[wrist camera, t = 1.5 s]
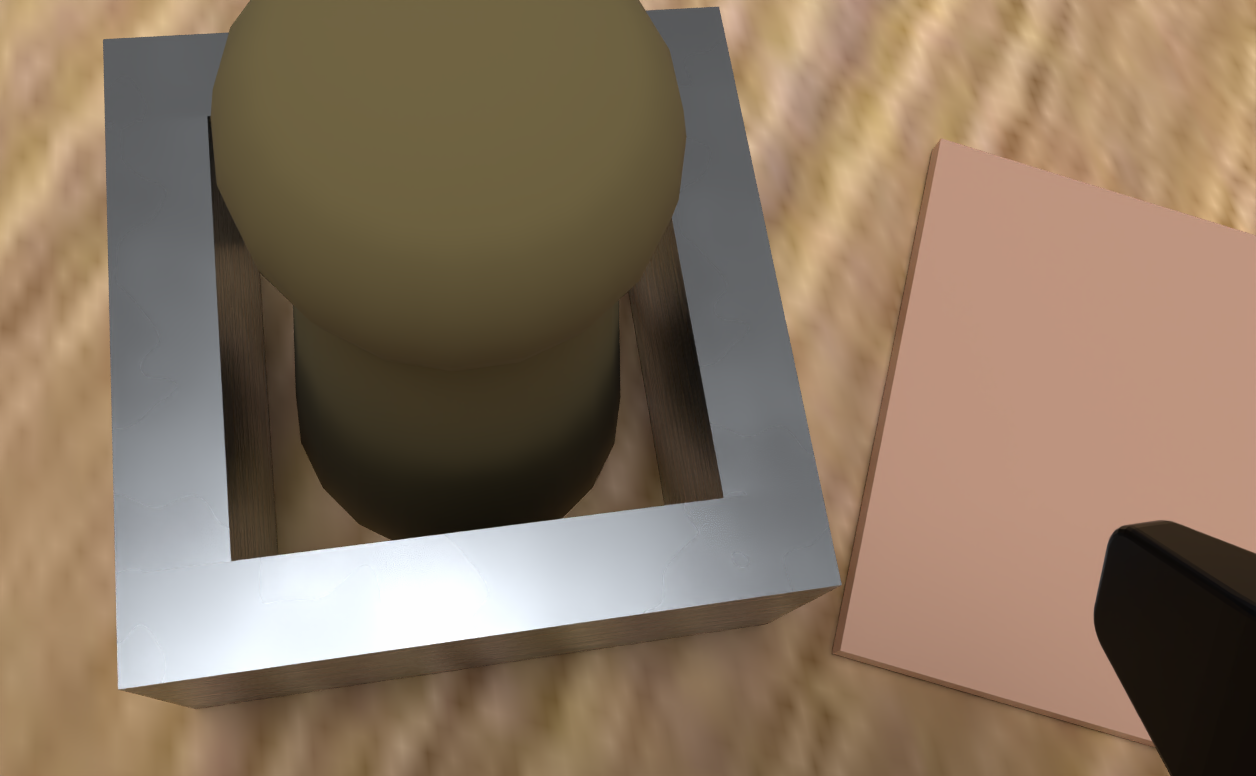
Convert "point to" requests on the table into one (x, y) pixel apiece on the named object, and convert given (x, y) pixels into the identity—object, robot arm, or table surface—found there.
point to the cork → (451, 236)
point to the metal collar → (454, 562)
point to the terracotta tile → (1046, 429)
